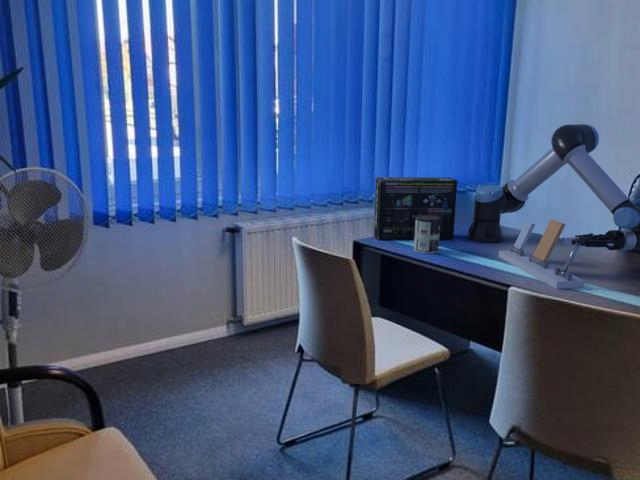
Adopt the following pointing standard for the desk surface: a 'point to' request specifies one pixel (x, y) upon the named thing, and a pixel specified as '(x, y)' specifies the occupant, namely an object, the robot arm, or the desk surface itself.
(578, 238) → the grey metal toggle
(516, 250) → the pale blue paddle
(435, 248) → the coffee can
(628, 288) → the desk surface
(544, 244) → the brown paddle
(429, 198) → the router box
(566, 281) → the switch panel
